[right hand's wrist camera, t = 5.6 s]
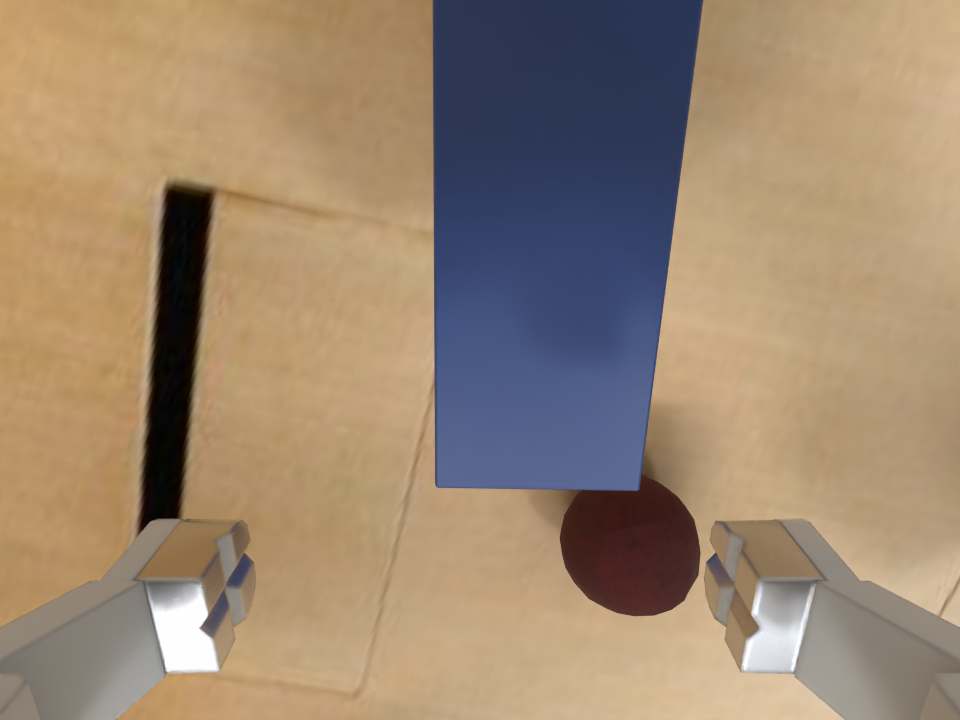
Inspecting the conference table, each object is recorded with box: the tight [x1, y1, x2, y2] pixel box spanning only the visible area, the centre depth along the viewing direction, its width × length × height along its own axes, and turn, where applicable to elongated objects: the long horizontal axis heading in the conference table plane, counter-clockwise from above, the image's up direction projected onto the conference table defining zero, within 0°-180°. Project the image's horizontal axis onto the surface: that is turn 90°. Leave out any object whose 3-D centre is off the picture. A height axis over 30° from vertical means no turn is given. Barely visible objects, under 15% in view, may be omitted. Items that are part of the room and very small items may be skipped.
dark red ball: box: [560, 476, 700, 616], centre depth 33 cm, size 7×8×7 cm
